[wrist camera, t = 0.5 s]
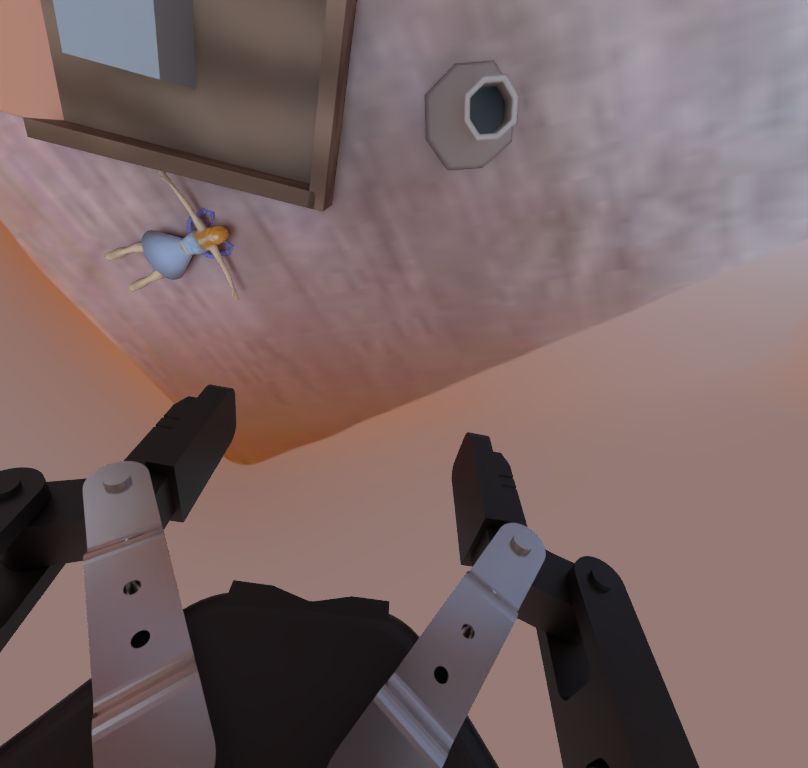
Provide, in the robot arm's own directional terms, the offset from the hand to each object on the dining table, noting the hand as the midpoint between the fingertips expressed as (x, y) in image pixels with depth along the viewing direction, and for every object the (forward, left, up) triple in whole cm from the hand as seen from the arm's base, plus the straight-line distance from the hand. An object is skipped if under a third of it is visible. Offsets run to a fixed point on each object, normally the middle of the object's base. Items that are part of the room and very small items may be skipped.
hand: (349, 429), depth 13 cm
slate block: (-11, -20, -26) cm, 35 cm away
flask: (-11, +4, -27) cm, 29 cm away
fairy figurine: (+4, -19, -27) cm, 33 cm away
